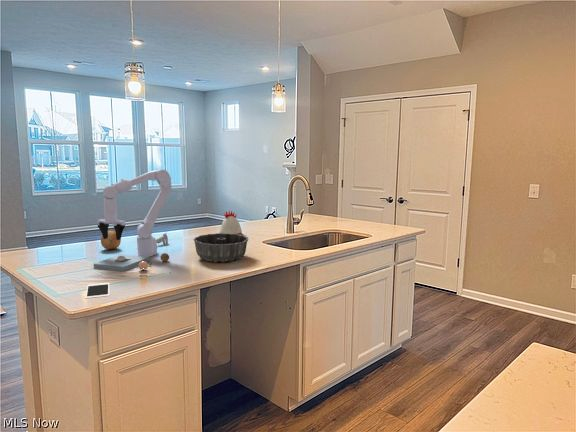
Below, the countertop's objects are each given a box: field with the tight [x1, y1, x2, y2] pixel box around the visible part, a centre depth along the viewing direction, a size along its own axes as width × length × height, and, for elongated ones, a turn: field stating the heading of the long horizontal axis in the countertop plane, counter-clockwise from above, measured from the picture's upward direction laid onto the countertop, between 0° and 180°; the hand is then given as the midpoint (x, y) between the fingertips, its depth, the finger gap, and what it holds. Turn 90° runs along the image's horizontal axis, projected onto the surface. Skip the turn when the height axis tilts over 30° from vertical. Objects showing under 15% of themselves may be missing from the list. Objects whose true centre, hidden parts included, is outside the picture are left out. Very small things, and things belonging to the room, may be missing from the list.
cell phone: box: [84, 282, 111, 299], centre depth 156 cm, size 8×16×1 cm, turn 23°
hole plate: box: [93, 253, 151, 272], centre depth 191 cm, size 18×16×2 cm
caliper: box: [156, 233, 169, 245], centre depth 227 cm, size 20×1×6 cm, turn 151°
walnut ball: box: [159, 252, 170, 263], centre depth 197 cm, size 4×4×4 cm
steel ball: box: [117, 256, 126, 262], centre depth 191 cm, size 4×4×4 cm
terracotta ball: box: [137, 261, 149, 271], centre depth 182 cm, size 4×4×4 cm
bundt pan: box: [193, 232, 249, 263], centre depth 204 cm, size 26×26×10 cm
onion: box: [100, 230, 122, 250], centre depth 220 cm, size 10×10×10 cm
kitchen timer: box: [219, 210, 243, 236], centre depth 263 cm, size 14×14×15 cm
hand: (112, 239), depth 201 cm, fingers open, 7 cm apart
